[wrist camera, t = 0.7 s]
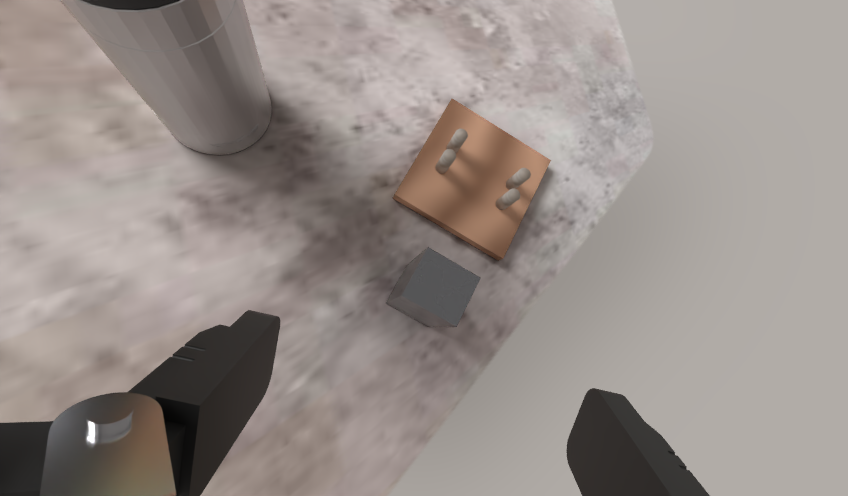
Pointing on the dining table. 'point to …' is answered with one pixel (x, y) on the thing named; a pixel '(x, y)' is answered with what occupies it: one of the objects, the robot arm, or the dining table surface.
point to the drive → (433, 290)
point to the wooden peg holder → (473, 180)
